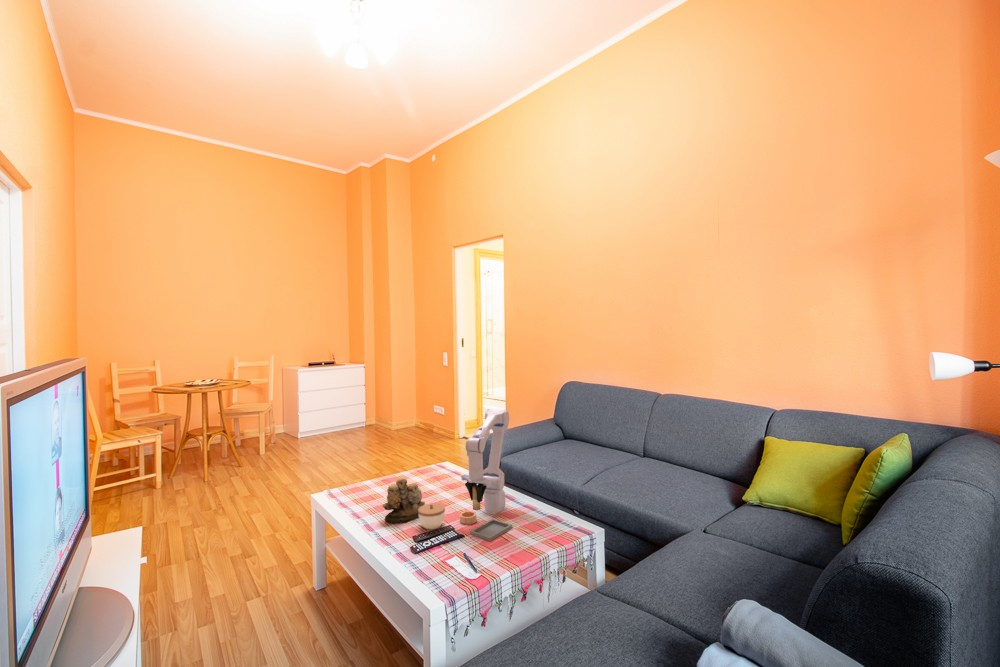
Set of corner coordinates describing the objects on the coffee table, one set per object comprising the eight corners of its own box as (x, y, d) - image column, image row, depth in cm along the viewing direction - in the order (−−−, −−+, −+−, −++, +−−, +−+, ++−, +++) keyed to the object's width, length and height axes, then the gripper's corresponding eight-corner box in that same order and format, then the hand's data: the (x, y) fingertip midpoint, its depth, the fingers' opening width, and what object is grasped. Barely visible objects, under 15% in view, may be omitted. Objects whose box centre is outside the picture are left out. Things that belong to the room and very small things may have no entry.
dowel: (476, 506, 191) (475, 485, 191) (481, 508, 189) (481, 486, 189) (471, 509, 189) (470, 487, 189) (477, 510, 187) (476, 488, 187)
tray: (492, 523, 192) (492, 518, 192) (512, 529, 186) (512, 524, 186) (470, 535, 181) (470, 531, 181) (490, 542, 175) (490, 538, 175)
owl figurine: (386, 527, 190) (385, 486, 190) (379, 517, 201) (378, 478, 200) (428, 517, 199) (427, 477, 199) (419, 508, 209) (418, 470, 209)
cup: (467, 517, 198) (467, 509, 198) (479, 521, 194) (479, 513, 194) (456, 522, 193) (456, 515, 193) (468, 526, 189) (468, 519, 189)
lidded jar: (420, 534, 183) (419, 511, 183) (417, 523, 193) (416, 501, 193) (447, 531, 186) (446, 507, 185) (443, 520, 196) (442, 498, 196)
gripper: (455, 466, 190) (456, 499, 190) (482, 473, 181) (483, 507, 181) (467, 462, 196) (468, 494, 196) (494, 468, 187) (495, 502, 187)
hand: (476, 500), depth 189 cm, fingers closed on dowel, 3 cm apart
